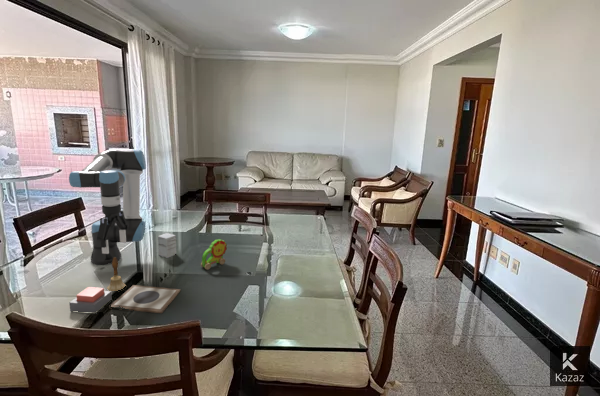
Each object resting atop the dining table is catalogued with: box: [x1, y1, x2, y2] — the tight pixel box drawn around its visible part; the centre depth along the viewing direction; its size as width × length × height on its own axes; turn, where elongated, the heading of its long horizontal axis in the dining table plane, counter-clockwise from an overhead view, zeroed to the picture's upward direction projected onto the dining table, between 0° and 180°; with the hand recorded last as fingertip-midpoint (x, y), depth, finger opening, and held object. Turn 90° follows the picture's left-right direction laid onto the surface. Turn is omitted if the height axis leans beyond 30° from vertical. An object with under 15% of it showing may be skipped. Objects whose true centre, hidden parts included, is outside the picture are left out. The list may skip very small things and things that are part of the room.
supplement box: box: [157, 232, 177, 259], centre depth 195 cm, size 7×7×13 cm
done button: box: [76, 286, 105, 303], centre depth 141 cm, size 7×7×3 cm
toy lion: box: [200, 238, 228, 270], centre depth 186 cm, size 16×5×15 cm, turn 141°
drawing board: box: [110, 284, 182, 314], centre depth 150 cm, size 24×19×1 cm
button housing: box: [69, 290, 113, 312], centre depth 141 cm, size 11×11×4 cm
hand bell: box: [106, 257, 127, 292], centre depth 156 cm, size 8×8×16 cm
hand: (114, 247), depth 153 cm, fingers open, 13 cm apart
